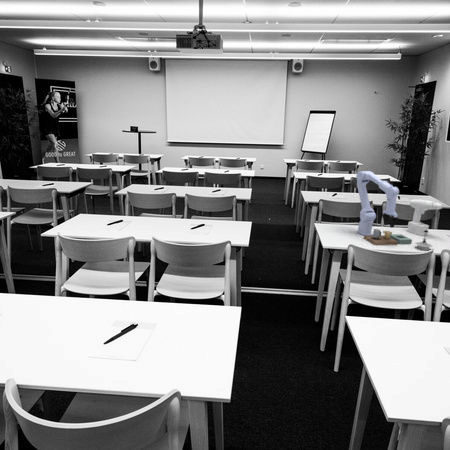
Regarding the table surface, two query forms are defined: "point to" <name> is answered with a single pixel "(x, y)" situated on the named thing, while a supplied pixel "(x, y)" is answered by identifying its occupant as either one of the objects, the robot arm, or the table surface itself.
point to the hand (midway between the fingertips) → (388, 226)
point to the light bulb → (423, 243)
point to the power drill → (419, 209)
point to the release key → (387, 234)
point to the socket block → (381, 240)
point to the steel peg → (376, 234)
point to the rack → (401, 239)
